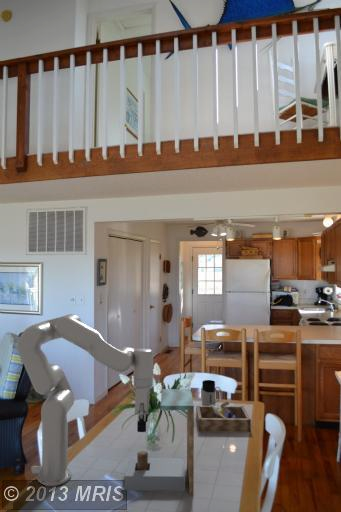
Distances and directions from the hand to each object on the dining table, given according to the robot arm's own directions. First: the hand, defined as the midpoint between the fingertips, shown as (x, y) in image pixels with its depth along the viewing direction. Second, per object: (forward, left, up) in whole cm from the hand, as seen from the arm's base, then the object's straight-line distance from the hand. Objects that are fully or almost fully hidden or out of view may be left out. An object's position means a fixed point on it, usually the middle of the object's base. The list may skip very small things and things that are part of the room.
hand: (142, 426), depth 150 cm
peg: (0, 0, -20) cm, 20 cm away
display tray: (+38, +56, -20) cm, 71 cm away
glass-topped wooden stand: (+13, 0, -20) cm, 24 cm away
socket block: (+5, 0, -20) cm, 21 cm away
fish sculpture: (+41, +55, -21) cm, 72 cm away
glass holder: (+35, +79, -20) cm, 89 cm away
